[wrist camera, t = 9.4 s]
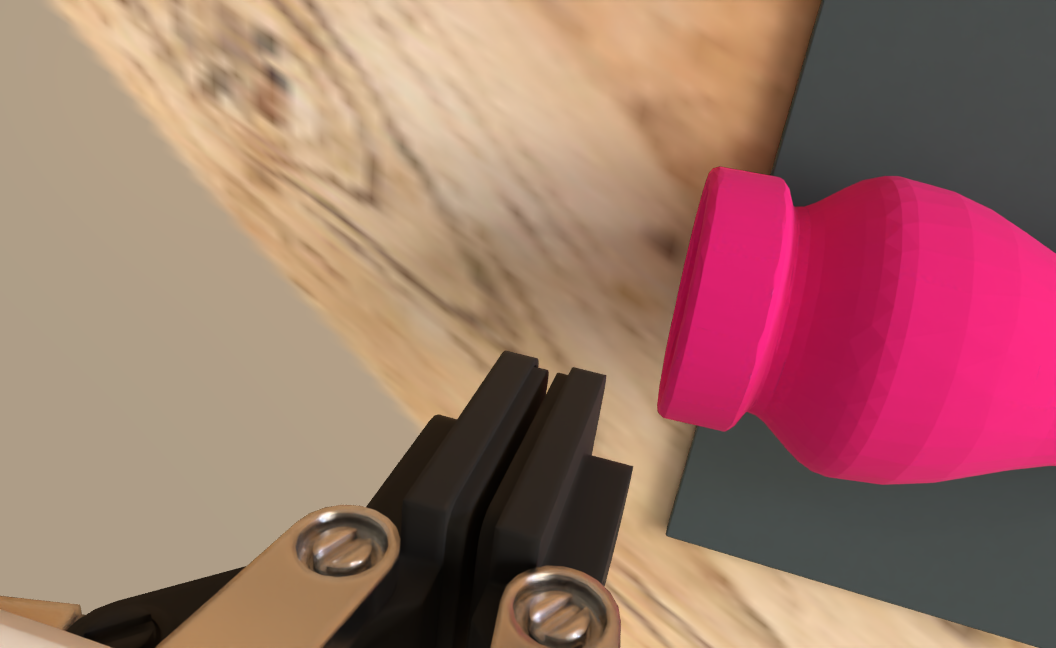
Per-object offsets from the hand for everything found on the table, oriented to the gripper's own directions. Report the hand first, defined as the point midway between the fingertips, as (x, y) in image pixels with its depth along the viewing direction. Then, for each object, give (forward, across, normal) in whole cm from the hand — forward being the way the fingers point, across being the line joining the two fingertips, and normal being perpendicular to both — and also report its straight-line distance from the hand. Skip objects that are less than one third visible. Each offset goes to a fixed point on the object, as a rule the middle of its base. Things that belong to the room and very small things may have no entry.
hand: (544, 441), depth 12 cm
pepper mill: (+8, -1, 0) cm, 8 cm away
